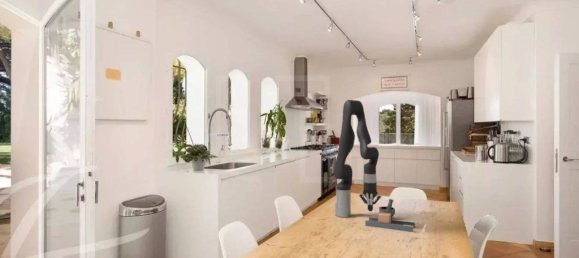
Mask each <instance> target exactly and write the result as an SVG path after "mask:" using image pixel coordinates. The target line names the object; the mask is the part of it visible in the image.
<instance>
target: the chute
mask: <svg viewBox="0 0 579 258" xmlns="http://www.w3.org/2000/svg"><path fill="white" fill-rule="evenodd" d="M364 223H365V225H364V226H366V227H371V228H373V227H374V228H380V229H387V230H392V231H393V230H394V231H395V230H396V231H400V232H401V231H402V232H408V233H413V232H414V229H416V222H415V221H411V220H409V221H408V220H398V219H391V223H383V222H378V217H373V216H368V220H365V222H364Z"/></svg>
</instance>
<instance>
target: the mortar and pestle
mask: <svg viewBox="0 0 579 258" xmlns="http://www.w3.org/2000/svg"><path fill="white" fill-rule="evenodd" d="M393 202H394V199H392V198H389V199H388V203H387V206H379V207H378V212H379V213H380V212H384V213H391V220H393V219H392V218H393V217H394V216H395V214H396V208H395V207H392V206H393Z"/></svg>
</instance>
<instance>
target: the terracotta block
mask: <svg viewBox="0 0 579 258" xmlns="http://www.w3.org/2000/svg"><path fill="white" fill-rule="evenodd" d="M377 218H378V222H383V223H391V220H392V219H391V213H384V212H379V213H378V214H377Z"/></svg>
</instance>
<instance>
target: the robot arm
mask: <svg viewBox="0 0 579 258" xmlns="http://www.w3.org/2000/svg"><path fill="white" fill-rule="evenodd" d="M365 115H366V114H365V109H364V105H363V103H362V101H360V100H358V99H356V100H355V99H346V101H345V102H344V104H343V108H342V123H341V131H340V135H339V136H340V137H339V142H338V144H339V145H338V150H337V155H336V159H335V163H334V168H333V176H334V177H335V179H336V180H340V182H338V183H337V184H336V195H335V196H336V197H335V199H336V200H335V201H334V203H335V205H334V206H335V207H334V208H335V209H334V213H335V214H334V215H335V217H338V218H350V217H351V215H352V211H351V209H352V207H351V206H352V205H351V203H352V199H351V197H352V194H351V193H352V191H351V189H352V186H353V185H352V184H353V168H352V166H351V164H346V160H347V158H348V156H349V155H350V154H351V151H352V150H353V148H354V145H355V140H356V136H357V139H358V142H359V154H360V157H361V158H362V159H363V160H367V161H368V162H366V163H364V164H363V191H362V193H361V194H359V195H358V196H359V198H360V199H361V200H362V202H363V203H364V204H365V205H367V211H368V212H372V211H374V205H376V204H377V203H378V201H379V200H380V199H381V198H382V195H380V194H378V189H377V186H378V184H377V181H378V179H377V164H378V160H379V156H380V151H379V149H378V148H377V147H376V146H369V145H370V144H372V138H371V135H370V132H369V129H368V125H367V121H366V116H365ZM352 116H355V117H356V118H357V126H356V135H355V131H354V129H353V126H352ZM368 146H369V147H368ZM375 198H376V199H375Z"/></svg>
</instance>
